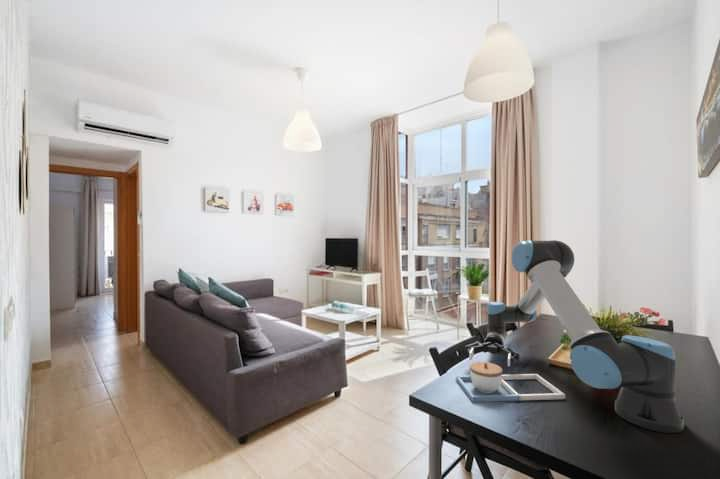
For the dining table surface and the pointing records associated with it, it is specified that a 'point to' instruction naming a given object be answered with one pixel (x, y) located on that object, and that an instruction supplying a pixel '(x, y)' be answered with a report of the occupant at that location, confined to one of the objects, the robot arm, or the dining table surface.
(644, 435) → the dining table surface
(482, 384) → the lidded jar
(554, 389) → the white square frame
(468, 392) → the blue bezel
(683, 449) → the dining table surface
